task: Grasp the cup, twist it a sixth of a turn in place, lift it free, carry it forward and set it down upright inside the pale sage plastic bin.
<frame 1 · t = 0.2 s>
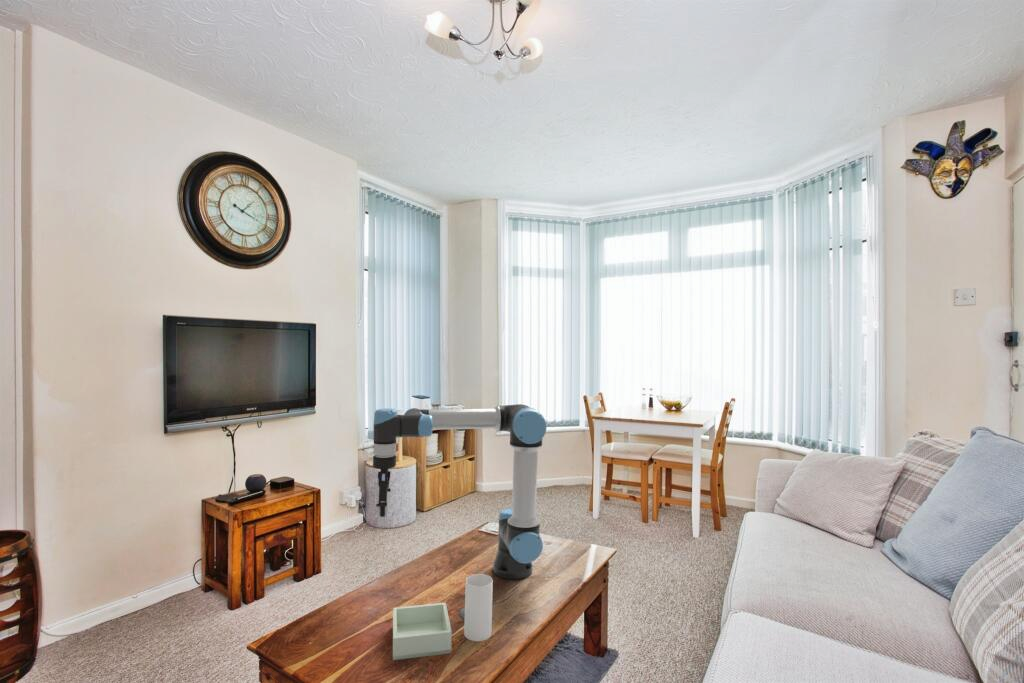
hand: (383, 518, 166), 28 cm above the table, fingers open, 13 cm apart
bin: (420, 639, 145), on the table
cup: (477, 633, 149), on the table
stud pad: (472, 613, 160), on the table
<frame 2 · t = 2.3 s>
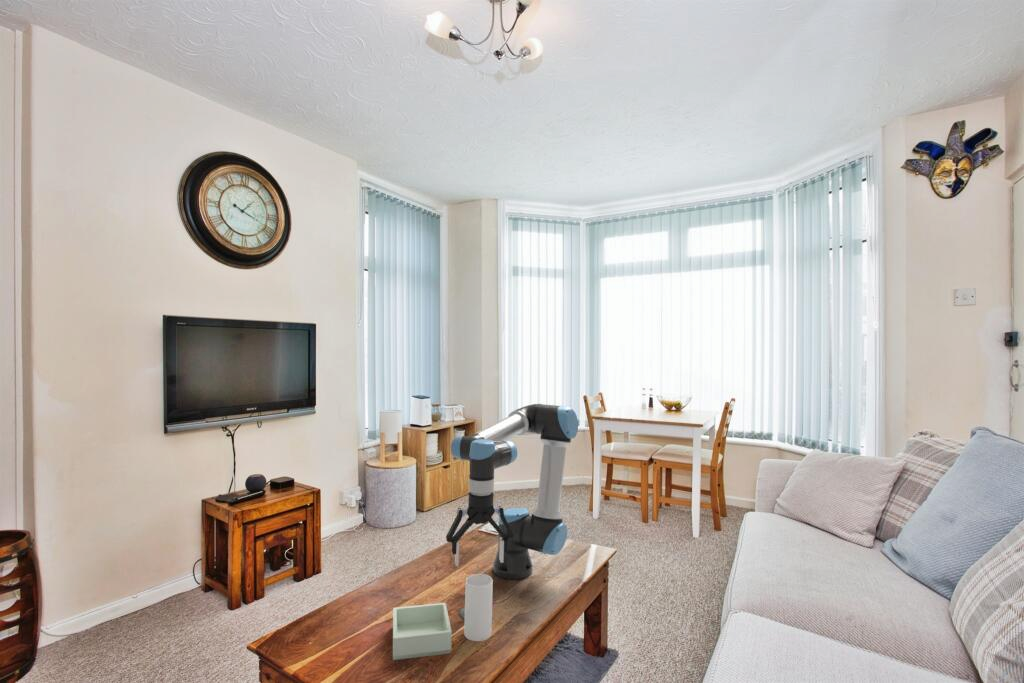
hand: (479, 562, 149), 21 cm above the table, fingers open, 13 cm apart
nothing on the table moved.
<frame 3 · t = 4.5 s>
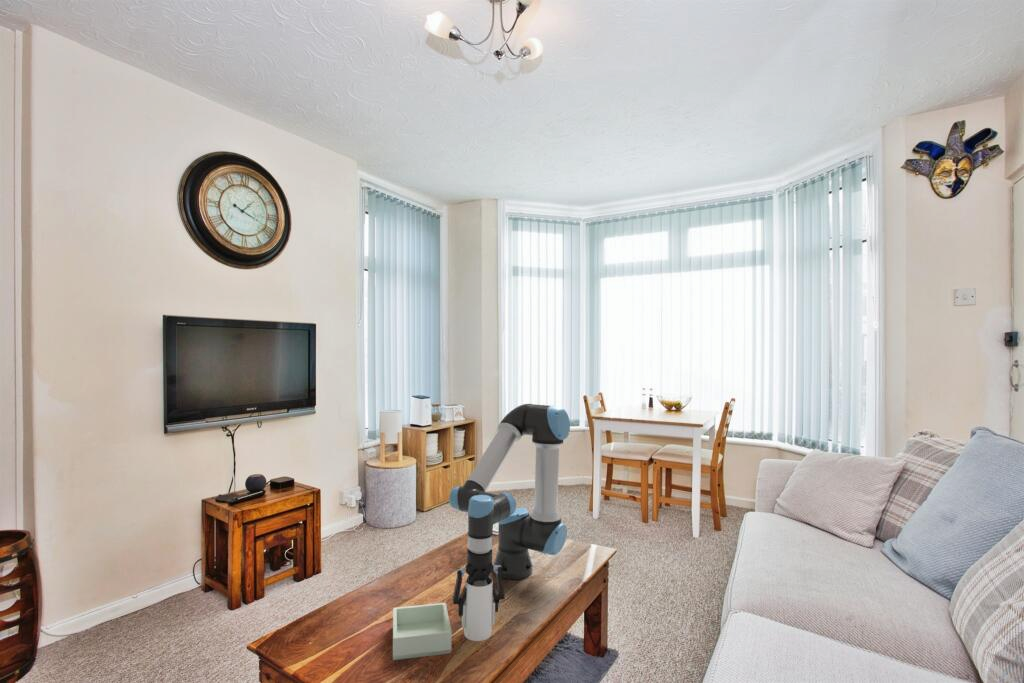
hand: (478, 623, 149), 3 cm above the table, fingers closed on cup, 8 cm apart
cup: (477, 633, 149), on the table, touching gripper
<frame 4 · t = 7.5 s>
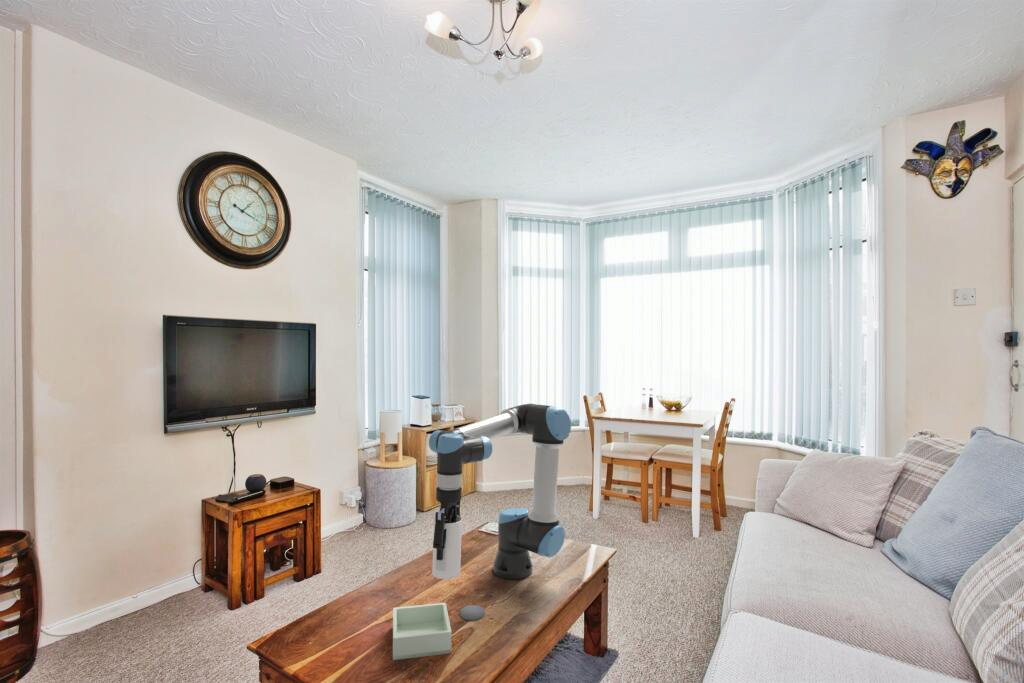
hand: (446, 563, 147), 22 cm above the table, fingers closed on cup, 8 cm apart
cup: (446, 573, 147), point 19 cm above the table, touching gripper
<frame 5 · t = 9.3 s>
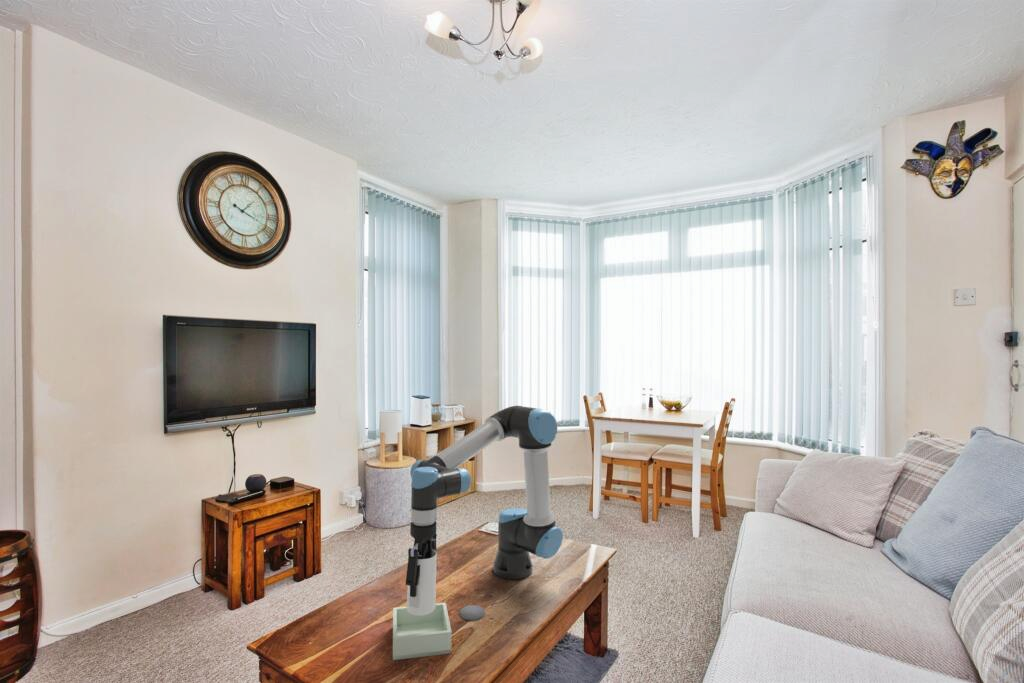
hand: (421, 598, 145), 12 cm above the table, fingers closed on cup, 8 cm apart
cup: (421, 608, 145), point 9 cm above the table, touching gripper
when the fingers open (6 cm above the table, at t = 10.7 s): cup drops 2 cm, resting on bin.
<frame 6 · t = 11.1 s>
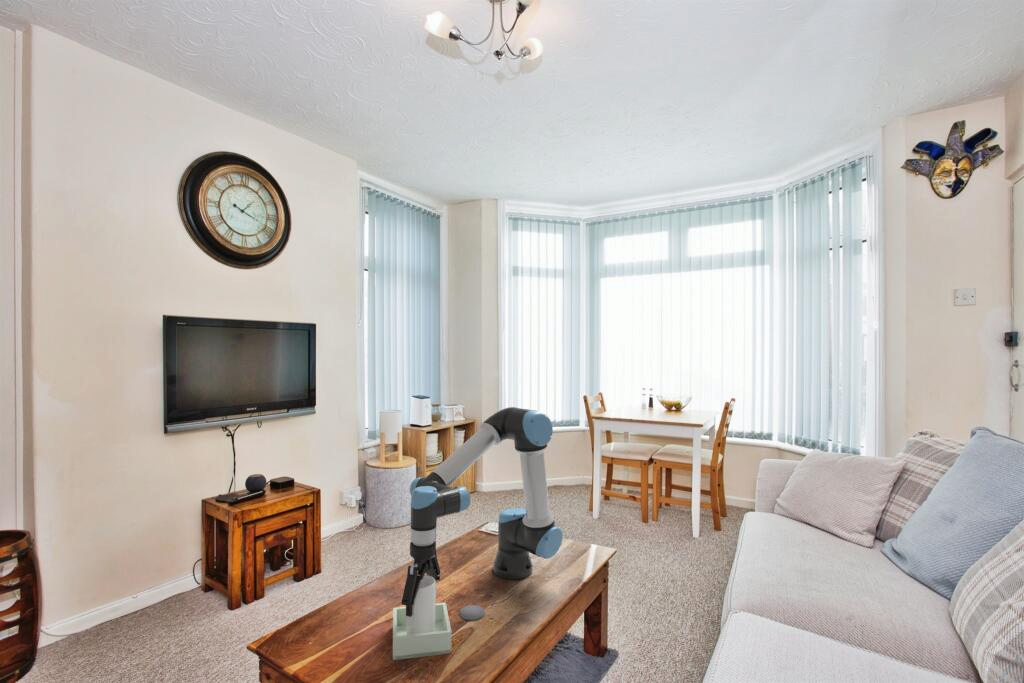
hand: (421, 613, 145), 8 cm above the table, fingers open, 13 cm apart
cup: (420, 636, 146), point 1 cm above the table, touching bin
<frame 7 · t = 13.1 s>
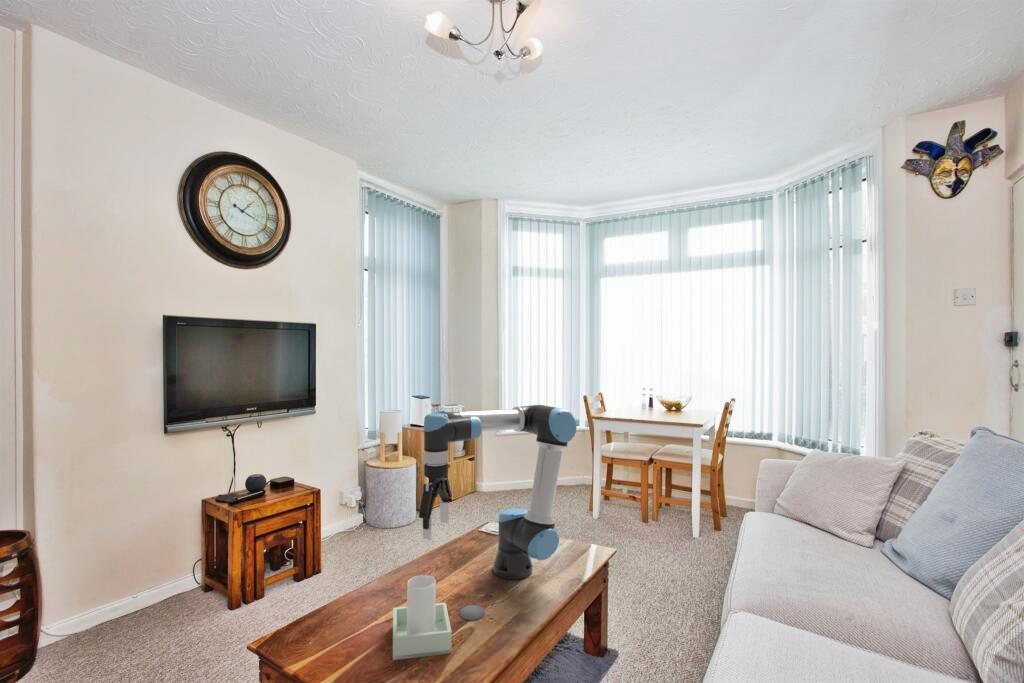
hand: (436, 530, 156), 28 cm above the table, fingers open, 13 cm apart
nothing on the table moved.
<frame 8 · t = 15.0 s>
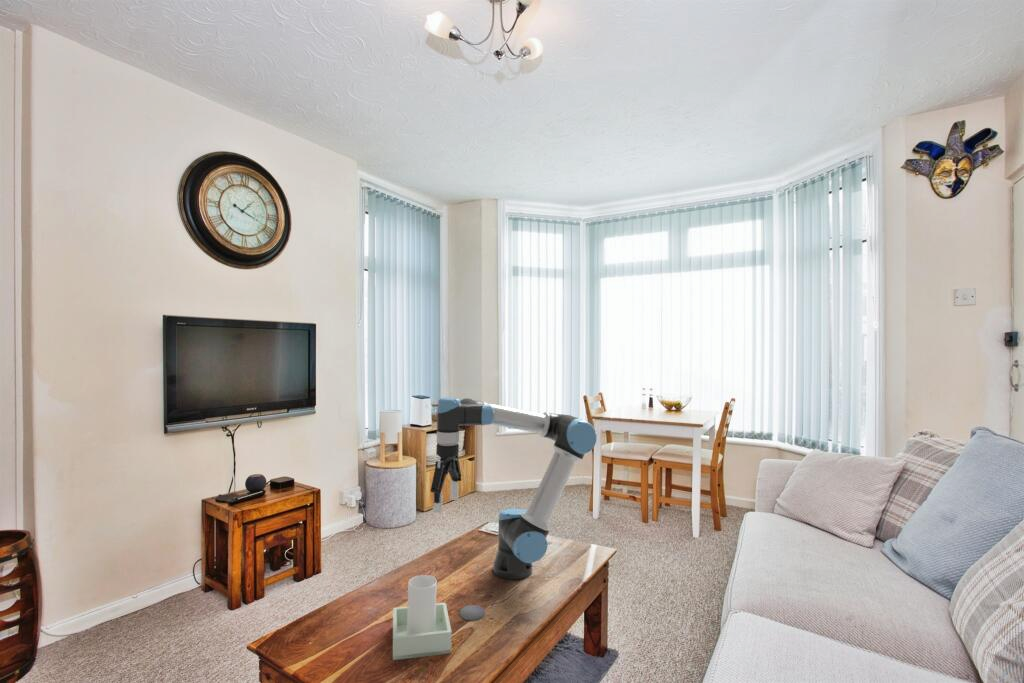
hand: (446, 505, 169), 32 cm above the table, fingers open, 13 cm apart
nothing on the table moved.
at the end: cup inside the target area on the bin (0.2 cm from its centre), point 0.8 cm above the bin's base; cup tilted 1°; the gripper is holding nothing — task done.
